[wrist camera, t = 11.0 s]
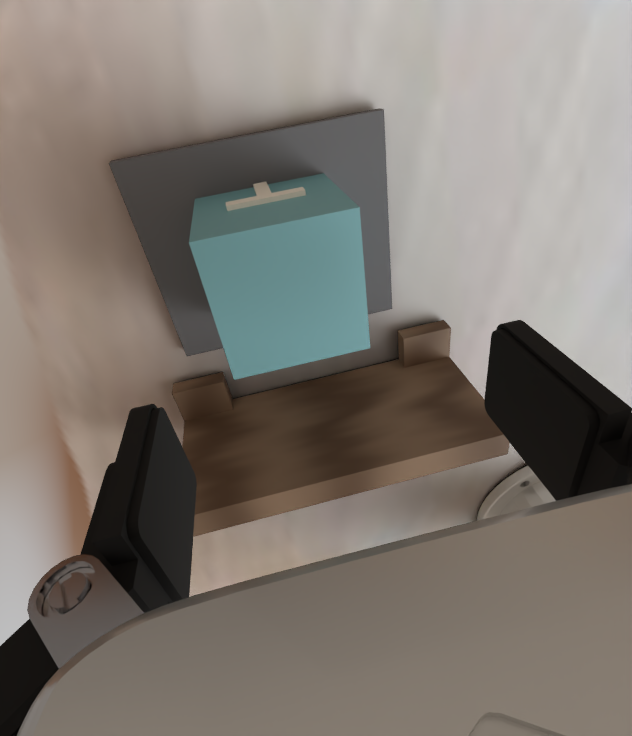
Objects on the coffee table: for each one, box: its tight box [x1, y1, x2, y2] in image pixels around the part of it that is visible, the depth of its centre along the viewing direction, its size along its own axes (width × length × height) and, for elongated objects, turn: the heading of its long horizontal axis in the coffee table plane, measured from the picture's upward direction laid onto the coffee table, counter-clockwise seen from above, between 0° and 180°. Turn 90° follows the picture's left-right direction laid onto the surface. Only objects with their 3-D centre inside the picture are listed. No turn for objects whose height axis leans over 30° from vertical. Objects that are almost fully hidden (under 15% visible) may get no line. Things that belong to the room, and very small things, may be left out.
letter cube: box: [189, 173, 370, 380], centre depth 19 cm, size 6×6×6 cm
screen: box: [172, 320, 510, 537], centre depth 24 cm, size 17×6×8 cm, turn 98°
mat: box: [109, 109, 392, 356], centre depth 21 cm, size 12×10×1 cm
